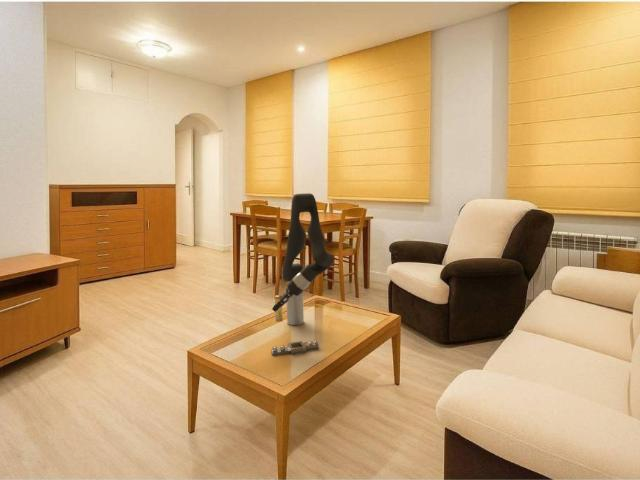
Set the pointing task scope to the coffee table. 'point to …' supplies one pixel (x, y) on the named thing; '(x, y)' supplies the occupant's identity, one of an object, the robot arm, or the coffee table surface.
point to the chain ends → (295, 348)
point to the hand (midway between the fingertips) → (274, 308)
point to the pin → (279, 311)
